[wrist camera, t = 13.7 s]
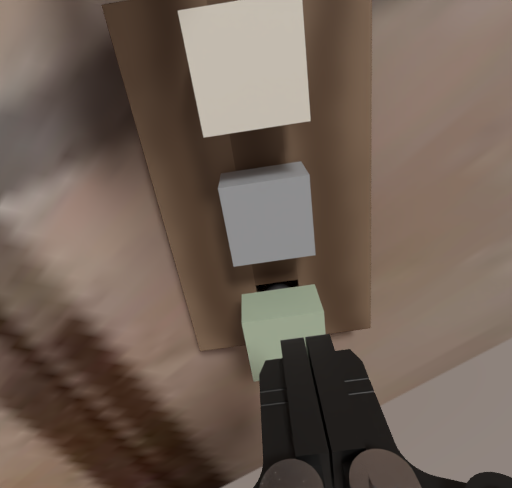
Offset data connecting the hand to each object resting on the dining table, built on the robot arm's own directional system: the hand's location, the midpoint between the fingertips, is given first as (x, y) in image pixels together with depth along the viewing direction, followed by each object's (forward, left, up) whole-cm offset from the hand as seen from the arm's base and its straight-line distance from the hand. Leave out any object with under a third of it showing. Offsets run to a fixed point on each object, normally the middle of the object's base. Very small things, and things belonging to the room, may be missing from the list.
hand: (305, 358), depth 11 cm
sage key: (0, +8, -14) cm, 17 cm away
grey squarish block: (0, 0, -16) cm, 16 cm away
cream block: (0, -8, -14) cm, 17 cm away
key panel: (0, 0, -17) cm, 17 cm away
